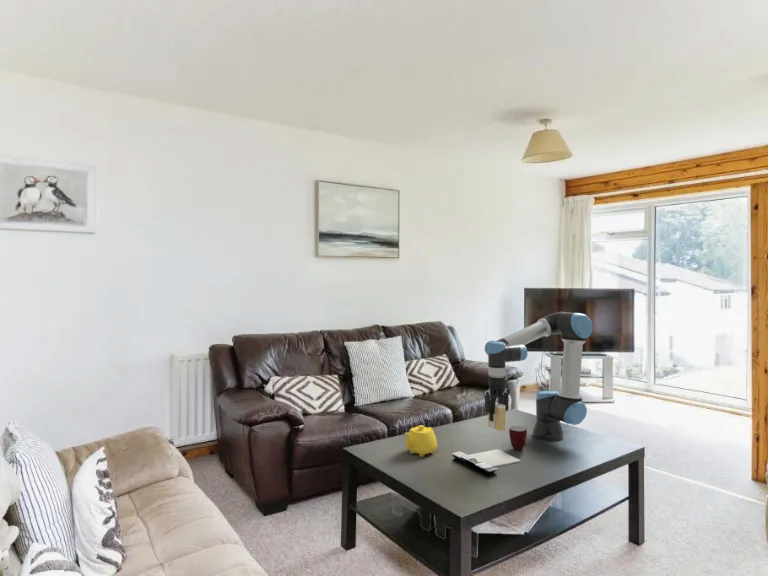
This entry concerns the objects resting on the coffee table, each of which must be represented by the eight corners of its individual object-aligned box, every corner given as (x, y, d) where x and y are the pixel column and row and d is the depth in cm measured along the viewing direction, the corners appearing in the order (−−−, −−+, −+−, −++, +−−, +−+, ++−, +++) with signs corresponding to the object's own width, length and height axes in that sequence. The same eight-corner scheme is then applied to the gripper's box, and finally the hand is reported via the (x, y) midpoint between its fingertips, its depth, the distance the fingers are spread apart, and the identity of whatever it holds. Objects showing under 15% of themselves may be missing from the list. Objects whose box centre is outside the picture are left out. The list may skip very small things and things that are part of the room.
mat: (498, 450, 237) (498, 449, 237) (520, 461, 223) (520, 460, 223) (460, 457, 229) (460, 456, 229) (481, 469, 214) (481, 468, 214)
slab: (494, 425, 231) (494, 401, 231) (505, 429, 224) (505, 405, 224) (488, 426, 230) (488, 402, 229) (499, 430, 222) (499, 406, 222)
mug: (533, 452, 234) (533, 431, 234) (518, 454, 231) (518, 433, 231) (520, 445, 244) (520, 425, 244) (505, 447, 241) (505, 427, 241)
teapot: (444, 451, 236) (444, 425, 236) (415, 462, 222) (415, 434, 222) (422, 444, 246) (422, 419, 246) (393, 455, 232) (393, 427, 232)
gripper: (506, 372, 233) (506, 422, 234) (476, 376, 226) (476, 427, 227) (516, 375, 226) (516, 427, 227) (486, 379, 219) (486, 432, 220)
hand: (496, 427), depth 227 cm, fingers closed on slab, 3 cm apart
